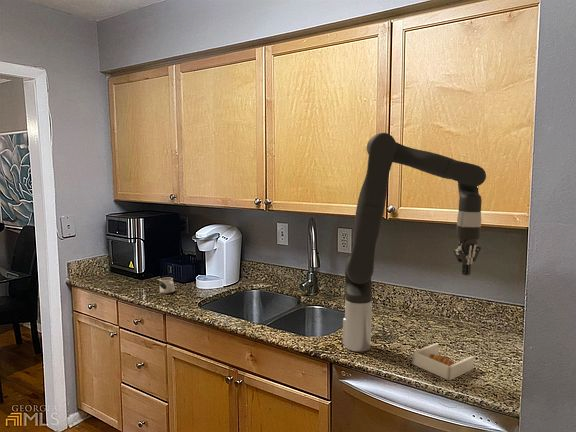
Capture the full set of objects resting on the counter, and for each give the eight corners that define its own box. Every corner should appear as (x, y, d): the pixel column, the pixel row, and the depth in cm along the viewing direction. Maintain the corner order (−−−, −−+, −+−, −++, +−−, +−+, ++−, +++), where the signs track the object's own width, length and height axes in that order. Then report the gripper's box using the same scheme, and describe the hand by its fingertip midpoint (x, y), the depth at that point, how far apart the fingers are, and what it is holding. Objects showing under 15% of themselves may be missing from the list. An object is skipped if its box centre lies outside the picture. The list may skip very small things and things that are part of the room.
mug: (157, 291, 222) (156, 279, 221) (168, 289, 227) (167, 276, 226) (168, 295, 215) (168, 282, 214) (179, 292, 220) (179, 279, 219)
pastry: (460, 369, 137) (461, 357, 137) (454, 377, 132) (454, 365, 132) (431, 361, 143) (432, 350, 143) (424, 368, 138) (424, 357, 137)
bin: (412, 363, 141) (412, 352, 140) (436, 354, 148) (436, 342, 148) (449, 380, 130) (449, 367, 129) (473, 368, 137) (473, 356, 137)
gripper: (470, 222, 153) (467, 270, 155) (447, 224, 145) (444, 275, 147) (490, 224, 147) (487, 274, 149) (467, 227, 139) (464, 279, 141)
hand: (466, 274), depth 148 cm, fingers closed
